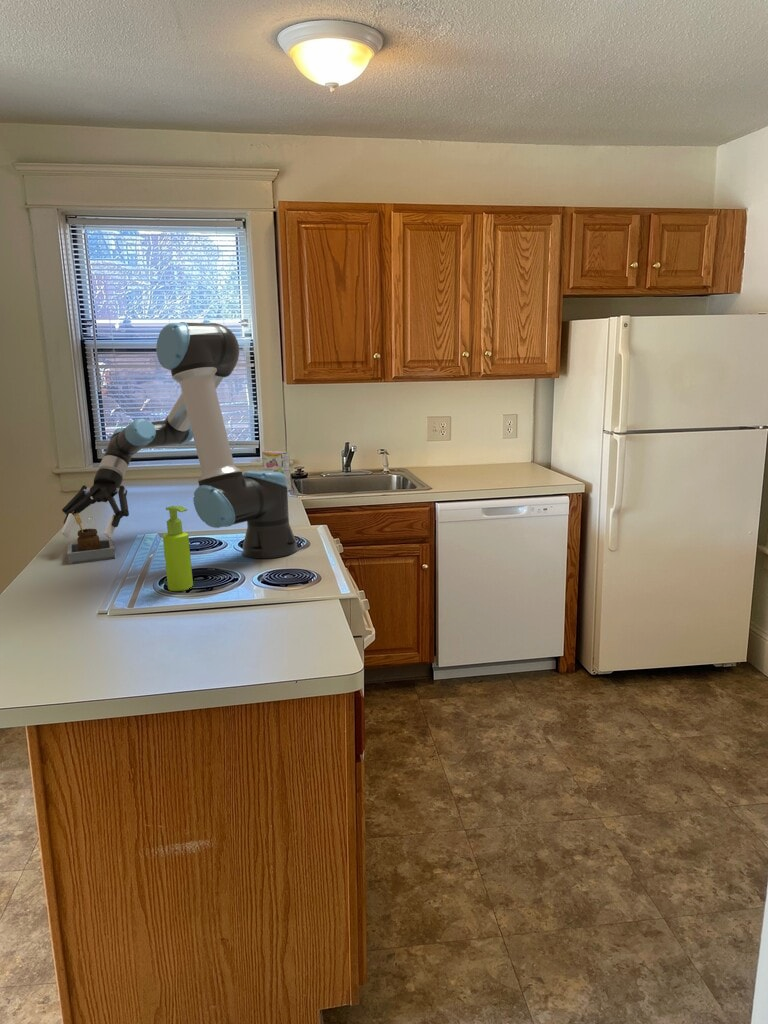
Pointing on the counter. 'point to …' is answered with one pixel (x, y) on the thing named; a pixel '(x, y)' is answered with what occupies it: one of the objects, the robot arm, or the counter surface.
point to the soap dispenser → (177, 553)
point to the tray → (91, 553)
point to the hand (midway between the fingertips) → (85, 535)
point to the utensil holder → (87, 537)
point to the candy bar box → (277, 464)
